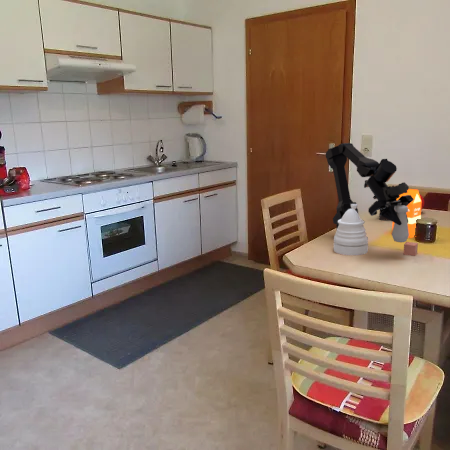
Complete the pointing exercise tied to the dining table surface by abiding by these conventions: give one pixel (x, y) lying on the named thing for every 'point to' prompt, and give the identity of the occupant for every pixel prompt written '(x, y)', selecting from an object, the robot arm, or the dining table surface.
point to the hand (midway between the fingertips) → (404, 223)
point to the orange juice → (412, 210)
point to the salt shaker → (401, 231)
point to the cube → (410, 248)
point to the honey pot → (351, 234)
